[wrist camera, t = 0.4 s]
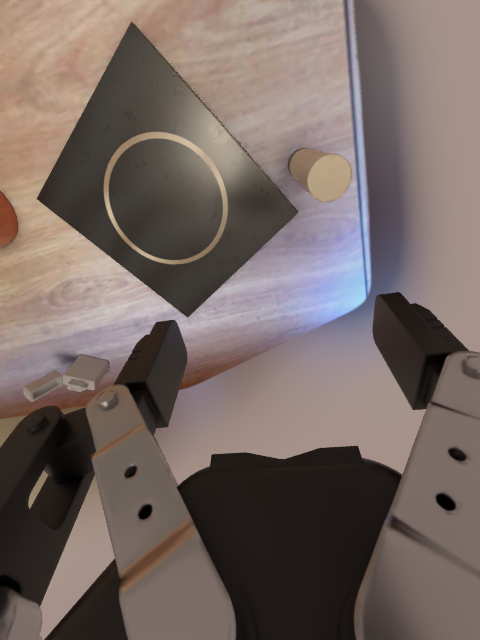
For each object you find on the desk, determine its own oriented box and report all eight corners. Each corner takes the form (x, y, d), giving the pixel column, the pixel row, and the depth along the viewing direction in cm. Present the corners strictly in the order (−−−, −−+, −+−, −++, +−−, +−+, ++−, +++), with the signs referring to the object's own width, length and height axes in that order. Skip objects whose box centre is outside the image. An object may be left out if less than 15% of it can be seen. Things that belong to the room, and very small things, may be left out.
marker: (282, 164, 27) (298, 179, 17) (303, 141, 26) (334, 142, 16) (299, 185, 28) (325, 211, 18) (321, 164, 27) (360, 178, 17)
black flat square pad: (40, 197, 30) (35, 199, 29) (134, 24, 23) (130, 20, 22) (188, 315, 37) (187, 318, 36) (297, 211, 30) (298, 212, 29)
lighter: (108, 360, 42) (79, 403, 35) (108, 369, 43) (80, 412, 36) (58, 349, 41) (19, 390, 34) (59, 358, 42) (21, 400, 35)
